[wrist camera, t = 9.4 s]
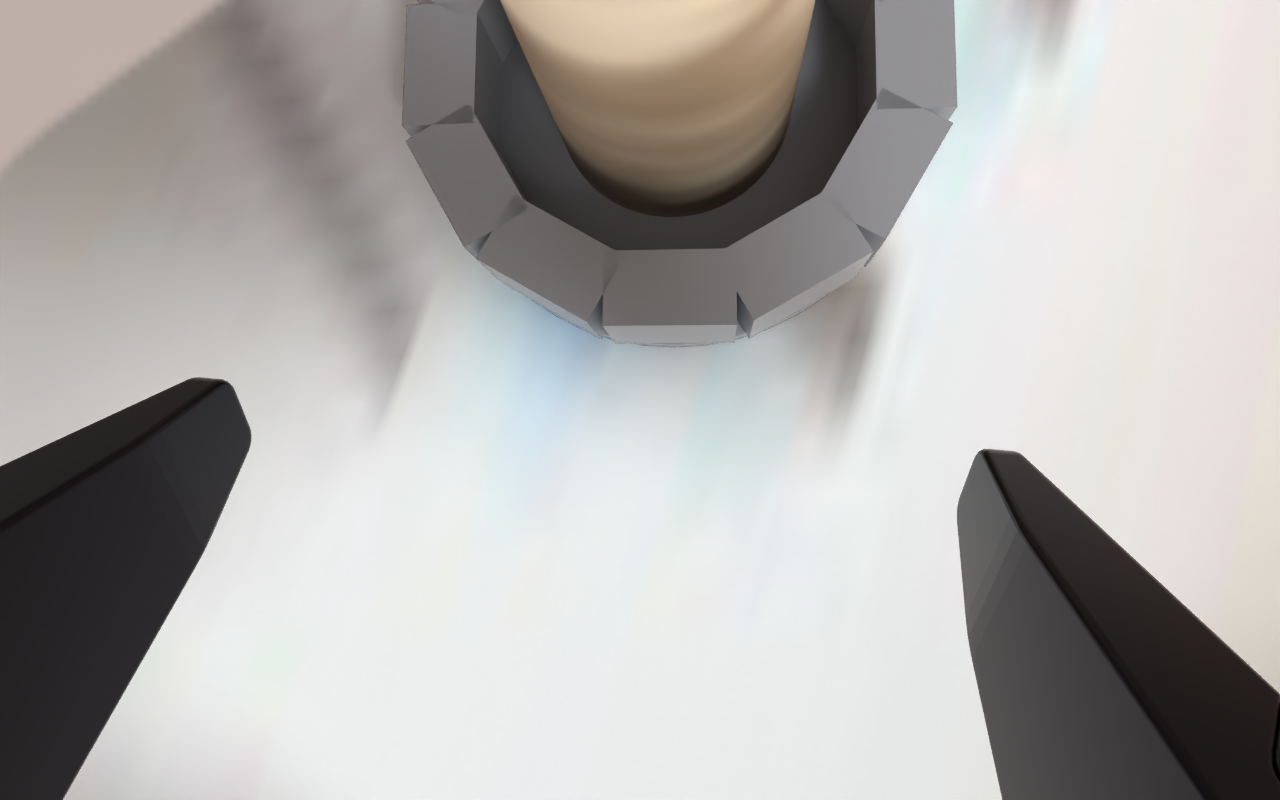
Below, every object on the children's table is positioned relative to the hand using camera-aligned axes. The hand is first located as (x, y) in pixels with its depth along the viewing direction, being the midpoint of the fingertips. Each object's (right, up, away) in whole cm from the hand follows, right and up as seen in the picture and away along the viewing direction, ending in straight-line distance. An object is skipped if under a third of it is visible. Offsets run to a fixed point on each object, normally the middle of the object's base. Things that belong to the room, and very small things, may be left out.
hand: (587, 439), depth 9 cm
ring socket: (+1, +7, +9) cm, 11 cm away
